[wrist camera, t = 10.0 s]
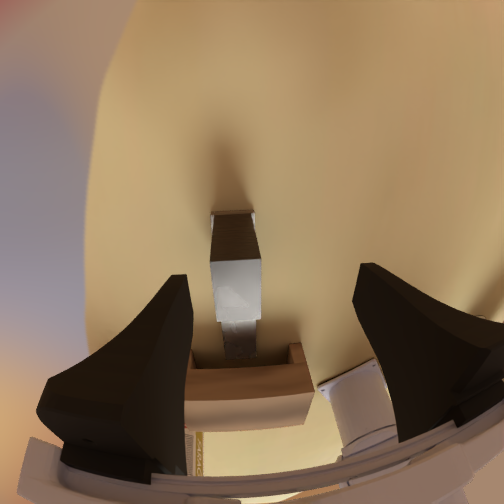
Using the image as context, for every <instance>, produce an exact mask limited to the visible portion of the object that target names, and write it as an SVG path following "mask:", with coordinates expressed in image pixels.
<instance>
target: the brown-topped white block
mask: <svg viewBox="0 0 504 504" xmlns="http://www.w3.org/2000/svg"><path fill="white" fill-rule="evenodd" d="M210 217H211V229H212V242H211V253H210V268H211V277H212V286H213V294H214V302H215V310H216V318H217V322H221V325H222V333H223V341H224V349H225V357H226V360H227V359H244V358H256V320H257V319H261V256H260V251H259V247H258V242H257V237H256V233H255V212H254V210H235V211H217V212H211V214H210Z"/></svg>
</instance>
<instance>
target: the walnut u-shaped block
mask: <svg viewBox="0 0 504 504" xmlns="http://www.w3.org/2000/svg"><path fill="white" fill-rule="evenodd" d="M314 393H315V390H314V387H313V383H312V380H311V376H310V372H309V369H308V365H307V362H306V358H305V355H304V351H303V348H302V344H301V343H295V344H289V351H288V358H287V364H283V365H273V366H261V367H246V368H227V369H197V368H196V364H195V360H194V356H193V352H192V350H190V355H189V361H188V368H187V374H186V382H185V405H184V419H185V424H186V426H187V428H188V430H189V432H228V431H248V430H261V429H271V428H281V427H289V426H296V425H303V424H304V422H305V420H306V417H307V414H308V411H309V408H310V405H311V402H312V399H313V396H314Z"/></svg>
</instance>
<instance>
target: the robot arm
mask: <svg viewBox="0 0 504 504" xmlns="http://www.w3.org/2000/svg"><path fill="white" fill-rule="evenodd" d="M352 302H353V305H354V308H355V312H356V314H357V317H358V320H359V322H360V324H361V326H362V328H363V330H364V332H365V334H366V336H367V338H368V340H369V342H370V344H371V346H372V348H373V350H374V352H375V354H376V356H377V358H378V360H379V363H380V365H381V367H382V370H383V373H384V376H385V380H386V382H385V380H384V377H383V375H382V373H381V370H380V368H379V366H378V363H377V361H376V359H372V360H370V361H368V362H366V363H364V364H362V365H361V366H359V367H357V368H355V369H353V370H351V371H349V372H347V373H345V374H343V375H341V376H338V377H336V378H334V379H332V380H330V381H328V382H326V383H323V384H321V385H319V386H318V387H317V388H318V391H319V392H320V393H321V394H322V395H323V396H324V397H325V398H326V399H327V400H328V401H329V402H330V403H331V406H332V409H333V412H334V416H335V419H336V422H337V426H338V429H339V433H340V436H341V440H342V443H343V447H344V448H342V449H341V451H342V455H340V456H338V458H337V460H336V462H335V463H331V464H327V465H322V466H317V467H312V468H307V469H301V470H294V471H287V472H280V473H271V474H261V475H248V476H224V477H204V476H188V474H187V463H186V450H185V419H184V405H185V382H186V374H187V368H188V361H189V355H190V349H191V342H192V336H193V308H192V303H191V297H190V292H189V286H188V280H187V274H181V275H171V276H170V277H169V279H168V280H167V281H166V282H165V283H164V285H163V286H162V287H161V289H160V290H159V291H158V292H157V294H156V295H155V296H154V297H153V298H152V300H151V301H150V302H149V303H148V304H147V306H146V307H145V308H144V309H143V310H142V311H141V312H140V313H139V315H138V316H137V317H136V318H135V319H134V320H133V321H132V322H131V323H130V324H129V325H128V326H127V327H126V328H125V329H124V330H123V331H121V332H120V333H119V334H118V335H117V336H116V337H115V338H113V339H112V340H111V341H110V342H108V343H107V344H106V345H104V346H103V347H102V348H100V349H99V350H98V351H96V352H95V353H94V354H92V355H91V356H89V357H87V358H86V359H84V360H83V361H81V362H80V363H78V364H76V365H74V366H73V367H71V368H69V369H67V370H65V371H63V372H61V373H59V374H57V375H55V376H53V377H51V378H49V379H48V381H47V383H46V386H45V388H44V390H43V393H42V395H41V398H40V401H39V403H38V406H37V409H36V413H37V415H38V417H39V419H40V420H41V422H43V424H44V425H45V426H46V427H47V428H49V429H50V430H51V431H52V432H53V433H54V434H55V435H56V436H58V437H59V438H60V439H61V440H62V441H64V444H63V448H62V449H61V448H60V447H57V446H56V445H53V444H50V443H48V442H45V441H42V440H39V439H36V438H34V437H30V439H29V443H28V446H27V450H26V453H25V457H24V461H23V465H22V469H21V474H20V478H19V483H18V488H17V493H18V495H20V496H22V497H23V498H26V499H27V500H29V501H31V502H33V503H35V504H241V501H240V500H238V499H223V498H250V497H263V496H273V495H281V494H288V493H295V492H301V491H307V490H312V489H317V488H322V487H327V486H331V485H335V484H339V486H340V489H337V490H333V491H329V492H326V493H322V494H318V495H313V496H309V497H304V498H299V499H294V500H289V501H283V502H277V503H271V504H468V501H467V498H466V495H465V492H464V490H463V487H464V486H466V485H467V484H469V483H470V482H471V481H472V480H473V478H474V476H475V473H476V472H477V471H479V470H480V469H481V468H483V467H484V466H485V465H487V464H488V463H489V462H490V461H492V460H493V459H494V458H495V457H496V456H498V455H499V454H500V453H501V452H502V451H503V450H504V382H503V380H502V379H503V378H504V372H503V371H502V369H503V368H504V324H503V323H499V322H494V321H490V320H486V319H482V318H479V317H476V316H473V315H470V314H467V313H465V312H462V311H459V310H457V309H455V308H452V307H450V306H448V305H446V304H444V303H442V302H440V301H438V300H436V299H434V298H432V297H430V296H428V295H427V294H425V293H423V292H421V291H420V290H418V289H416V288H415V287H413V286H411V285H410V284H408V283H407V282H405V281H403V280H402V279H400V278H399V277H397V276H395V275H394V274H392V273H391V272H389V271H387V270H386V269H384V268H382V267H381V266H379V265H377V264H375V263H361V264H360V269H359V274H358V278H357V282H356V287H355V291H354V295H353V299H352ZM386 383H387V385H386ZM387 386H388V390H389V393H390V397H391V400H390V398H389V396H388V393H387V391H386V388H387ZM391 401H392V403H391Z"/></svg>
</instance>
